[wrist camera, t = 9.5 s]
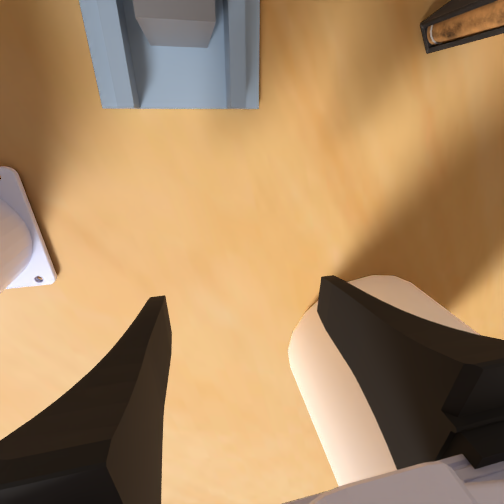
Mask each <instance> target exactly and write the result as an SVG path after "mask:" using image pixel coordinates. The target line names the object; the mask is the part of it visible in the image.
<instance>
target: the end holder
mask: <svg viewBox="0 0 504 504" xmlns="http://www.w3.org/2000/svg"><path fill="white" fill-rule="evenodd" d="M79 3H80V8H81V12H82V17H83V21H84V26H85V31H86V35H87V40H88V44H89V49H90V53H91V58H92V63H93V67H94V72H95V76H96V81H97V85H98V90H99V94H100V99H101V104H102V108H122V109H259V35H260V0H215V16H216V23H215V26H214V29H213V32H212V35H211V38H210V41H209V44H208V48H196V47H173V46H151V45H150V44H149V42H148V40H147V38H146V36H145V34H144V32H143V31H142V29H141V27H140V25H139V23H138V21H137V20H136V18H135V13H134V6H133V0H79Z"/></svg>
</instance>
